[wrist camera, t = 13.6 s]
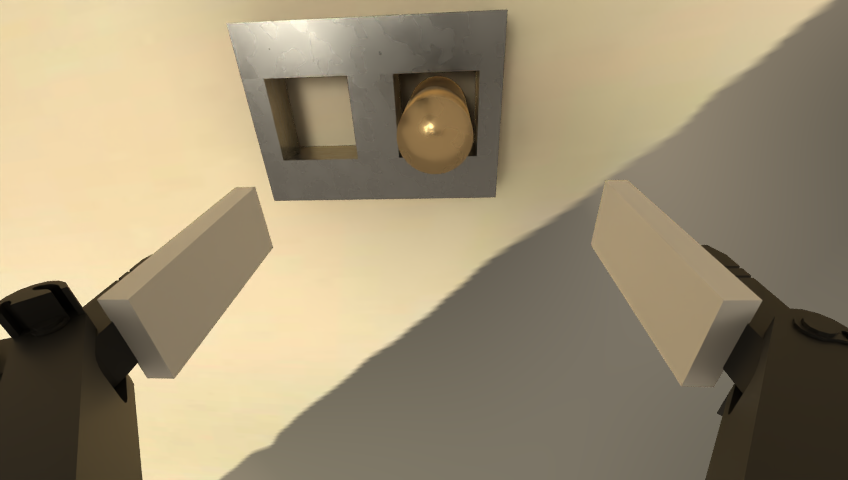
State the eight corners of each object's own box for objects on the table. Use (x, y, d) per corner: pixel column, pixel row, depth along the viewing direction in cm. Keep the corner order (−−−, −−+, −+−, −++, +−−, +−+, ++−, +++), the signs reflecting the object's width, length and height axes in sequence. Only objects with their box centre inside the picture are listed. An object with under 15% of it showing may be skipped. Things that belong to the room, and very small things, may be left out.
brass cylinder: (411, 135, 34) (399, 174, 25) (407, 77, 31) (393, 98, 23) (465, 134, 34) (472, 173, 25) (466, 74, 31) (474, 95, 23)
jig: (290, 184, 37) (274, 200, 34) (251, 22, 30) (226, 23, 26) (490, 180, 36) (495, 197, 32) (500, 10, 29) (507, 9, 25)
